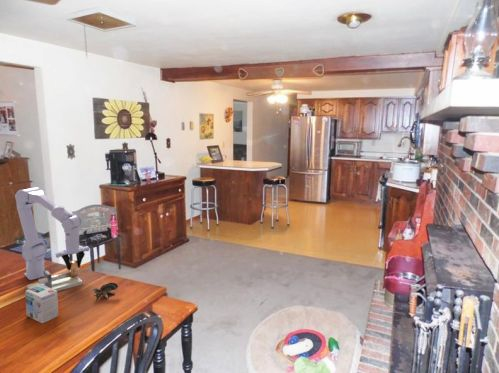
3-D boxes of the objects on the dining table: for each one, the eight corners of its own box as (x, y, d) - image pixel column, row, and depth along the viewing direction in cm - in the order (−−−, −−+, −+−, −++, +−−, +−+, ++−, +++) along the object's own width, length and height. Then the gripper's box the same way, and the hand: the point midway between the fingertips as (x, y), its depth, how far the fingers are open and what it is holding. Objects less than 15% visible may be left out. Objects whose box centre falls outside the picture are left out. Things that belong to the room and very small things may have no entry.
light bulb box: (26, 316, 133) (24, 290, 131) (43, 308, 139) (41, 283, 137) (42, 324, 128) (40, 297, 126) (59, 315, 134) (58, 290, 132)
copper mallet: (38, 283, 155) (37, 268, 153) (76, 273, 167) (76, 259, 166) (40, 286, 152) (39, 271, 151) (79, 276, 164) (79, 262, 163)
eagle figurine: (104, 301, 144) (121, 290, 151) (95, 287, 144) (113, 276, 151) (96, 305, 149) (113, 294, 156) (88, 291, 149) (105, 280, 156)
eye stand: (27, 288, 155) (25, 272, 154) (73, 276, 170) (72, 261, 168) (34, 297, 147) (33, 281, 146) (82, 284, 162) (82, 269, 160)
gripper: (58, 246, 153) (60, 274, 155) (91, 240, 164) (92, 266, 166) (53, 242, 158) (54, 270, 160) (85, 236, 168) (86, 262, 171)
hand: (73, 268), depth 163 cm, fingers closed on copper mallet, 4 cm apart
